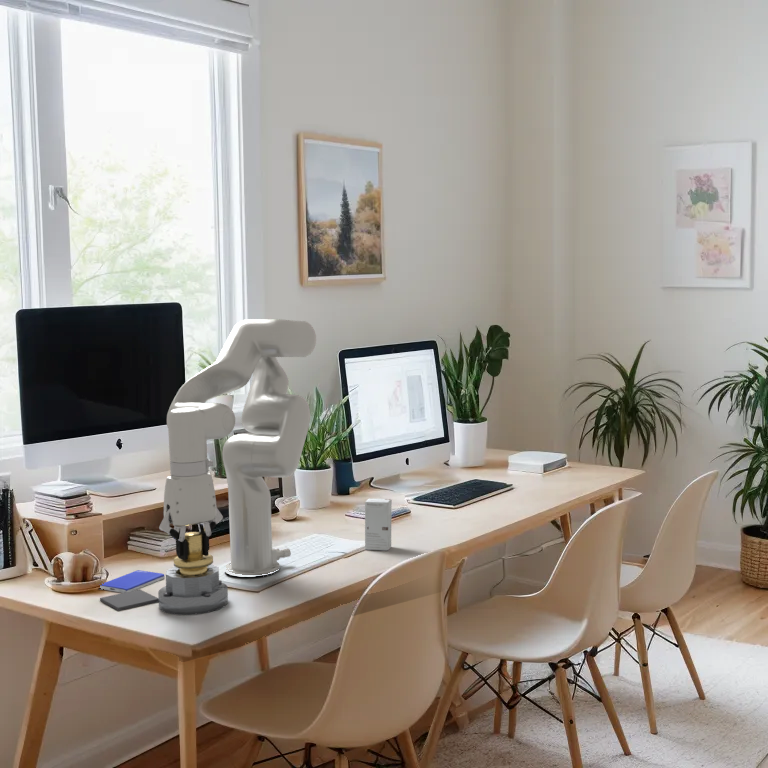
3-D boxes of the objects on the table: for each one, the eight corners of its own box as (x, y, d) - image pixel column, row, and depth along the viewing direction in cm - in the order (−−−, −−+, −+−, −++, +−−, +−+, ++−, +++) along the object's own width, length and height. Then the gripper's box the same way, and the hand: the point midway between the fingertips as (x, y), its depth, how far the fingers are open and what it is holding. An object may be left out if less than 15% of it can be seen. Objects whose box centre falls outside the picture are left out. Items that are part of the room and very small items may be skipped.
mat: (140, 592, 217) (139, 589, 217) (159, 601, 210) (159, 598, 210) (100, 600, 212) (99, 597, 212) (118, 610, 205) (118, 607, 205)
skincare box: (364, 550, 249) (363, 501, 247) (368, 545, 253) (367, 497, 252) (389, 551, 247) (388, 502, 246) (392, 546, 252) (391, 498, 251)
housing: (207, 589, 218) (205, 557, 217) (240, 604, 207) (239, 571, 207) (147, 603, 209) (145, 570, 209) (178, 619, 198) (177, 584, 198)
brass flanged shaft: (202, 574, 214) (200, 527, 213) (221, 582, 208) (219, 534, 207) (167, 582, 209) (165, 534, 208) (185, 590, 203) (183, 541, 202)
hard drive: (136, 569, 232) (97, 584, 221) (164, 573, 228) (126, 588, 217) (137, 576, 232) (98, 591, 221) (164, 580, 228) (126, 595, 217)
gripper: (216, 461, 214) (219, 545, 216) (142, 472, 204) (147, 561, 205) (234, 465, 208) (238, 552, 210) (159, 477, 198) (164, 568, 200)
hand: (193, 555), depth 208 cm, fingers closed on brass flanged shaft, 4 cm apart
